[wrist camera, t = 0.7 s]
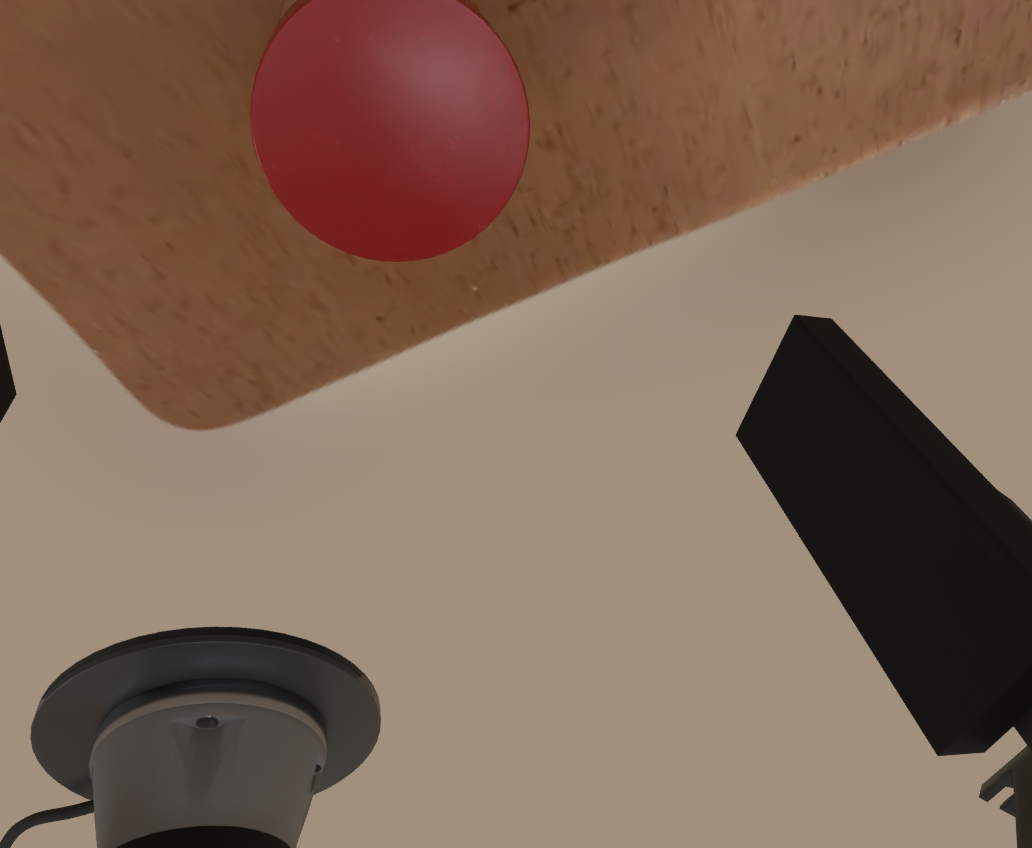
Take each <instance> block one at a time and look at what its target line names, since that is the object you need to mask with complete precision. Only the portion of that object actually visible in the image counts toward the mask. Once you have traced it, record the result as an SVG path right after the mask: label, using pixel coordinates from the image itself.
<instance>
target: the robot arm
mask: <svg viewBox="0 0 1032 848" xmlns="http://www.w3.org/2000/svg"><path fill="white" fill-rule="evenodd" d="M15 396H16V390H15V386H14V382H13V377H12V373H11V369H10V365H9V360H8V356H7V352H6V347H5V344H4V339H3V335H2V330H1V326H0V422H1V421H2V419H3V417H4V415H5V414H6V412H7V410H8V408H9V406H10V404H11V403H12V401H13V399H14V398H15ZM736 436H737V438H738V440H739V441H740V443H741V444H742V446H743V448H744V449H745V451H746V452H747V454H748V456H749V457H750V459H751V460H752V462H753V463H754V465H755V467H756V468H757V470H758V471H759V473H760V475H761V476H762V478H763V479H764V481H765V483H766V484H767V486H768V487H769V489H770V491H771V492H772V494H773V495H774V497H775V498H776V500H777V502H778V503H779V505H780V506H781V508H782V509H783V511H784V513H785V514H786V516H787V517H788V519H789V521H790V522H791V524H792V525H793V527H794V529H795V530H796V532H797V533H798V535H799V537H800V538H801V540H802V541H803V543H804V544H805V546H806V547H807V549H808V551H809V552H810V554H811V556H812V557H813V559H814V560H815V562H816V563H817V565H818V566H819V568H820V570H821V571H822V573H823V575H824V576H825V578H826V579H827V581H828V582H829V584H830V586H831V587H832V589H833V590H834V592H835V594H836V595H837V597H838V598H839V600H840V601H841V603H842V605H843V606H844V608H845V610H846V611H847V613H848V614H849V616H850V617H851V619H852V621H853V622H854V624H855V625H856V627H857V629H858V630H859V632H860V633H861V635H862V636H863V638H864V640H865V641H866V643H867V644H868V646H869V648H870V649H871V651H872V652H873V654H874V655H875V657H876V659H877V660H878V662H879V663H880V665H881V667H882V668H883V670H884V671H885V673H886V674H887V676H888V678H889V679H890V681H891V682H892V684H893V686H894V687H895V689H896V690H897V692H898V693H899V695H900V697H901V698H902V700H903V702H904V703H905V705H906V706H907V708H908V710H909V711H910V713H911V714H912V716H913V717H914V719H915V720H916V722H917V724H918V725H919V727H920V729H921V730H922V732H923V733H924V735H925V736H926V738H927V739H928V741H929V743H930V744H931V746H932V748H933V749H934V750H935V752H936V754H937V755H938V756H945V755H958V754H970V753H983V752H985V751H987V750H988V749H989V748H990V747H991V746H992V745H993V744H994V743H995V742H996V741H998V739H1000V738H1001V737H1002V736H1003V735H1004V734H1005V733H1006V732H1007V731H1009V730H1010V729H1011V728H1012V727H1013V726H1014V727H1015V729H1016V730H1017V731H1018V733H1019V734H1020V736H1021V737H1022V738H1023V740H1024V741H1025V742H1026V744H1027V746H1026V747H1025V748H1024V749H1023V750H1022V751H1021V752H1019V753H1018V754H1017V755H1016V756H1015V757H1014V758H1013V759H1011V761H1009V762H1008V763H1007V764H1006V765H1005V766H1003V767H1002V768H1001V769H1000V770H999V771H998V772H996V773H995V774H994V775H993V776H992V777H991V778H990V779H988V780H987V781H986V782H985V783H984V784H983V785H982V787H981V791H980V795H979V798H981V799H983V800H985V801H986V802H988V801H989V800H990V799H991V798H993V797H994V796H995V795H996V794H997V793H998V792H1000V791H1001V790H1002V789H1003V788H1005V787H1011V788H1014V794H1013V795H1011V796H1010V797H1009V798H1008V799H1007V800H1005V801H1004V802H1003V804H1002V805H1001V806H1000V809H1001V810H1003V811H1005V812H1007V813H1009V814H1010V815H1012V816H1014V817H1015V818H1016V834H1017V848H1032V521H1031V520H1030V519H1029V518H1028V516H1027V515H1026V514H1025V513H1024V512H1023V511H1022V510H1021V509H1020V508H1019V507H1018V506H1017V505H1016V504H1015V503H1014V502H1013V501H1012V500H1011V499H1009V498H1008V497H1006V496H1005V495H1004V494H1002V493H1001V492H999V491H998V490H997V489H996V488H995V487H994V486H993V485H992V484H991V483H990V482H989V481H987V479H986V478H985V477H984V476H983V475H982V474H981V473H980V472H979V471H978V470H977V469H976V468H975V467H974V466H973V465H972V464H971V463H970V462H969V460H967V458H966V457H965V456H964V455H963V454H962V453H961V452H960V451H959V450H958V449H957V448H956V447H955V446H954V445H953V444H952V443H951V442H950V441H949V440H948V439H947V438H946V437H945V436H944V435H943V434H942V433H941V431H940V430H939V429H938V428H937V427H936V426H935V425H934V424H933V423H932V422H931V421H930V420H929V419H928V418H927V417H926V416H925V415H924V414H923V413H922V412H921V411H920V410H919V409H918V408H917V407H916V406H915V405H914V404H913V403H912V401H910V399H909V398H908V397H907V396H905V394H904V393H903V392H902V391H901V390H900V389H899V388H898V387H897V386H896V385H895V384H894V383H893V382H892V381H891V380H890V379H889V378H888V377H887V376H886V375H885V374H884V373H883V371H882V370H881V369H880V368H879V367H878V366H877V365H876V364H875V363H874V362H873V361H871V359H870V358H869V357H868V356H867V355H866V354H865V353H864V352H863V351H862V350H861V349H860V348H859V347H858V346H857V345H856V344H855V343H854V341H853V340H852V339H851V338H850V337H849V336H848V335H847V334H846V333H845V332H844V331H843V330H842V329H841V328H840V327H839V326H838V325H837V324H836V323H835V322H834V321H833V320H832V319H830V318H820V317H811V316H802V315H794V317H793V319H792V321H791V323H790V325H789V327H788V329H787V331H786V333H785V335H784V337H783V339H782V341H781V343H780V345H779V348H778V350H777V352H776V354H775V356H774V358H773V360H772V362H771V364H770V366H769V368H768V370H767V372H766V374H765V376H764V378H763V380H762V382H761V384H760V386H759V388H758V390H757V393H756V394H755V396H754V398H753V401H752V403H751V405H750V407H749V409H748V411H747V413H746V415H745V417H744V419H743V421H742V423H741V425H740V427H739V429H738V431H737V434H736ZM326 752H327V728H326V723H325V721H324V718H323V717H322V715H321V714H320V712H319V711H318V710H317V709H316V708H315V707H314V706H313V705H312V704H311V703H309V702H308V701H307V700H305V699H304V698H302V697H300V696H299V695H297V694H295V693H292V692H290V691H288V690H285V689H282V688H280V687H276V686H273V685H269V684H265V683H260V682H255V681H248V680H238V679H202V680H192V681H185V682H179V683H174V684H170V685H166V686H162V687H158V688H155V689H152V690H149V691H147V692H144V693H141V694H139V695H137V696H135V697H133V698H131V699H129V700H127V701H125V702H124V703H122V704H121V705H119V706H118V707H116V708H115V709H114V710H113V711H112V712H110V714H109V715H108V716H107V717H106V718H105V719H104V720H103V722H102V723H101V725H100V727H99V729H98V732H97V735H96V739H95V743H94V746H93V750H92V754H91V758H90V764H89V768H90V777H91V781H92V786H93V798H94V800H91V801H87V802H83V803H80V804H76V805H72V806H67V807H62V808H56V809H51V810H46V811H41V812H38V813H35V814H32V815H30V816H28V817H26V818H24V819H22V820H21V821H19V822H18V823H16V824H15V825H13V826H12V827H11V828H10V829H9V830H8V832H7V833H6V834H5V836H4V837H3V839H2V841H1V842H0V848H10V847H11V845H12V844H13V842H14V841H15V839H16V838H17V837H18V836H19V835H20V834H21V833H23V832H24V831H25V830H27V829H29V828H31V827H33V826H36V825H39V824H43V823H48V822H54V821H59V820H65V819H70V818H74V817H78V816H82V815H86V814H89V813H93V812H94V815H95V829H96V839H97V848H296V845H297V842H298V839H299V836H300V833H301V830H302V828H303V825H304V822H305V819H306V816H307V813H308V810H309V807H310V804H311V800H312V797H313V794H314V790H316V789H317V788H319V787H320V782H321V774H322V771H323V768H324V765H325V762H326Z"/></svg>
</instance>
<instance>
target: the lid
mask: <svg viewBox="0 0 1032 848" xmlns="http://www.w3.org/2000/svg"><path fill="white" fill-rule="evenodd" d="M250 115H251V129H252V137H253V141H254V146H255V151H256V154H257V157H258V160H259V163H260V166H261V169H262V171H263V173H264V175H265V177H266V179H267V181H268V184H269V186H270V187H271V189H272V190H273V192H274V193H275V195H276V197H277V198H278V200H279V201H280V202H281V204H282V205H283V206H284V207H285V208H286V210H287V211H288V212H289V213H290V214H291V216H292V217H294V218H295V219H296V220H297V221H298V222H299V223H300V224H301V225H302V226H303V227H304V228H305V229H307V230H308V231H309V232H311V233H312V234H314V235H315V236H316V237H318V238H319V239H321V240H322V241H324V242H326V243H328V244H329V245H331V246H333V247H335V248H337V249H340V250H342V251H344V252H347V253H349V254H352V255H356V256H359V257H363V258H366V259H372V260H378V261H389V262H405V261H416V260H422V259H427V258H431V257H434V256H438V255H441V254H444V253H446V252H449V251H451V250H453V249H455V248H457V247H460V246H461V245H463V244H464V243H466V242H468V241H469V240H471V239H473V238H474V237H475V236H477V235H478V234H479V233H480V232H482V231H483V230H484V229H485V228H486V227H487V226H488V225H489V224H490V223H491V222H492V221H493V220H494V219H495V218H496V217H497V216H498V215H499V213H500V212H501V211H502V209H503V208H504V207H505V206H506V204H507V203H508V201H509V199H510V198H511V196H512V194H513V192H514V191H515V189H516V187H517V184H518V182H519V180H520V177H521V175H522V172H523V169H524V165H525V161H526V158H527V152H528V146H529V139H530V117H529V107H528V101H527V96H526V92H525V88H524V84H523V81H522V78H521V76H520V73H519V70H518V68H517V66H516V64H515V62H514V60H513V58H512V56H511V54H510V52H509V50H508V49H507V47H506V46H505V44H504V43H503V42H502V40H501V39H500V37H499V36H498V34H497V33H496V32H495V30H494V29H493V27H492V26H491V24H490V23H489V22H488V20H487V19H486V18H485V17H484V16H483V15H482V14H481V12H480V11H479V10H478V9H477V8H476V7H475V6H474V5H473V4H472V3H470V2H469V1H468V0H297V1H296V2H295V3H294V4H293V5H292V6H291V7H290V8H289V9H288V10H287V11H286V12H285V14H284V15H283V16H282V18H281V19H280V20H279V22H278V23H277V24H276V26H275V28H274V30H273V32H272V34H271V36H270V38H269V39H268V41H267V44H266V47H265V50H264V53H263V55H262V58H261V61H260V64H259V67H258V70H257V73H256V76H255V81H254V86H253V90H252V97H251V113H250Z"/></svg>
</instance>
